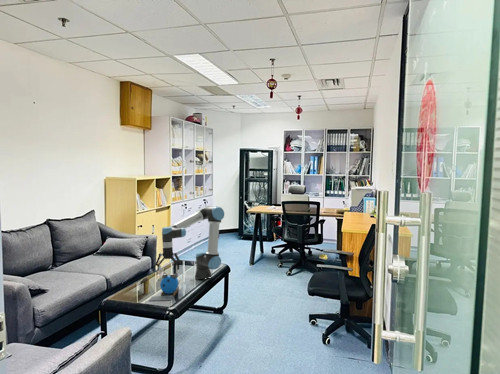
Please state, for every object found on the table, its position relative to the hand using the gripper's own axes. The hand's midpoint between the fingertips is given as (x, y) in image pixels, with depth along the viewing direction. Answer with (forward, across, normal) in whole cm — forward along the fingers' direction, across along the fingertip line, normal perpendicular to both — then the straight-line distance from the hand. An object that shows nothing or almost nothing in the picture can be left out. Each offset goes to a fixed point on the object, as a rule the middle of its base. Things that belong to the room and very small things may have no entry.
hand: (168, 274), depth 261 cm
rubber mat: (+16, -3, -11) cm, 19 cm away
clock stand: (+15, 0, +1) cm, 15 cm away
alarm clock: (+15, 0, 0) cm, 15 cm away
